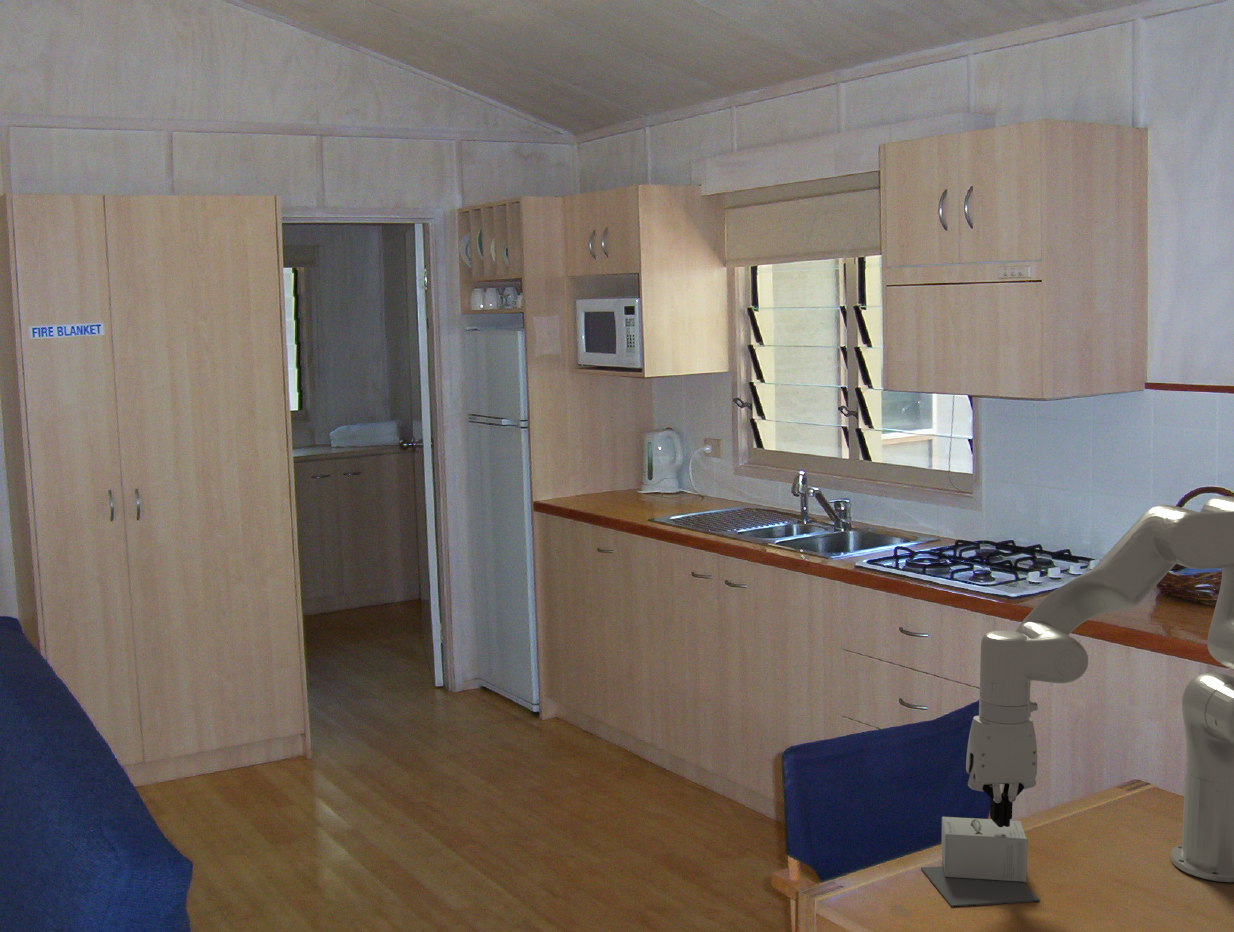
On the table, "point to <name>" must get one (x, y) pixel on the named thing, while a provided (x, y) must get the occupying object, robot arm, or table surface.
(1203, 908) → the table surface
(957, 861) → the supplement box
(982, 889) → the mat
